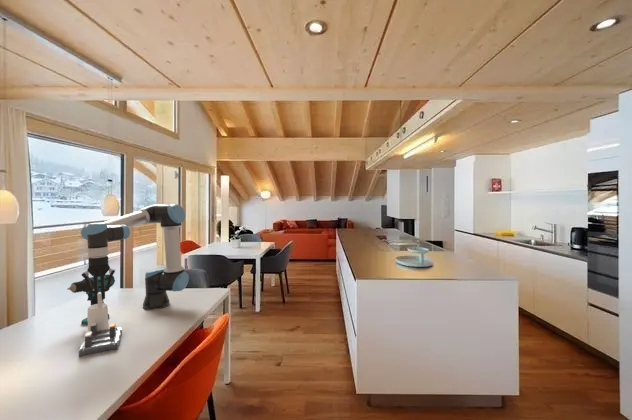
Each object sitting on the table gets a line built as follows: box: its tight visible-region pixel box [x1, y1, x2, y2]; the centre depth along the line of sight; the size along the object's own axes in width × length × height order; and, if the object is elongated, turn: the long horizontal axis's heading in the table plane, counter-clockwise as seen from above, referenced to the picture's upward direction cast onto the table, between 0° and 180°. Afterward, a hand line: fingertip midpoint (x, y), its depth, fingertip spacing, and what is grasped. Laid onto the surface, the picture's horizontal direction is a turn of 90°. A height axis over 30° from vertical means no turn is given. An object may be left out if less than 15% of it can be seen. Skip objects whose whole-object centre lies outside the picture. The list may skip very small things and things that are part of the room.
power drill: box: [67, 273, 116, 325], centre depth 169 cm, size 26×9×25 cm, turn 169°
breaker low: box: [91, 322, 97, 335], centre depth 147 cm, size 2×4×5 cm, turn 28°
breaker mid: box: [108, 322, 117, 337], centre depth 145 cm, size 2×4×5 cm, turn 28°
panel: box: [78, 326, 123, 358], centre depth 143 cm, size 14×20×3 cm
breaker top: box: [84, 331, 93, 347], centre depth 135 cm, size 2×4×5 cm, turn 28°
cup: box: [86, 302, 109, 332], centre depth 154 cm, size 8×8×14 cm
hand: (100, 306), depth 143 cm, fingers closed
